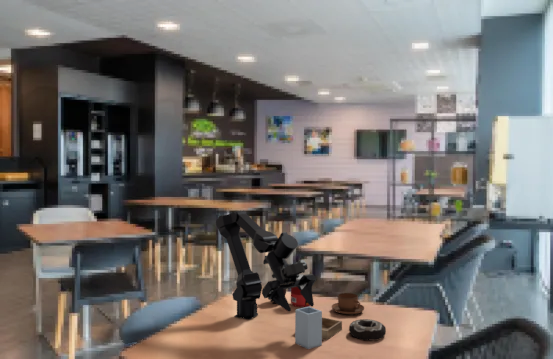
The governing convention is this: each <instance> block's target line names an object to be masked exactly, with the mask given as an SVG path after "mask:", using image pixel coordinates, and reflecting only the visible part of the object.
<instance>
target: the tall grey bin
mask: <svg viewBox="0 0 553 359" xmlns="http://www.w3.org/2000/svg"><path fill="white" fill-rule="evenodd" d="M294 317H295V318H294V319H295V322H294V323H295V325H294V326H295V327H294V329H295V332H294V339H295V340H294V343H295V344H296V345H298V346H300V347H302V348H304V349H307V350H310V349H313V348H318V347H320V346H322V344H323V342H322V341H323V339H322V317H323V311H322V310H320V309H317V308H314V307H311V306H308V307H299V308H297V309H295V316H294Z"/></svg>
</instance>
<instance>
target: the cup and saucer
mask: <svg viewBox="0 0 553 359" xmlns="http://www.w3.org/2000/svg"><path fill="white" fill-rule="evenodd" d="M331 309H332V311H334V312H335V313H338V314H341V315H357V314H360V313H362V312H364V310H365V306H364V305H362V304H361V302H360V301H359V295H357V294H355V293H351V292H350V293H349V292H341V293H339V294H338V295H337V303H336V302H335V303H333V304H332V305H331Z"/></svg>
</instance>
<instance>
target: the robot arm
mask: <svg viewBox="0 0 553 359" xmlns="http://www.w3.org/2000/svg"><path fill="white" fill-rule="evenodd" d="M215 225H216V227H217V229H218V232H219V234H220V235H221V236H222V237H223V238H224V239H226V243H227V245H228V248H229V252H230V254H231V257H232V260H233V264H234V268H235V270H236V273H237V279H236V283H235V285H236V288H235V290H234V291H233V293H232V300H233V301H236V314H235V315H234V318H238V319H244V320H252V319H253V318H255V317H257V316H258V315H259V313H258V303H257V299H258V300H259V299H260V298H261V294H262V296H263V298H264V299H268V301H270V300H272V301H274V302H275V303H276V304H277V305H278V306H280V307H282V308H283V309H284V310H286V311H287V312H288V313H290V312H291V311H292V308H291V306H290V305H291V304H289V302H288V300H287V298H286V294H285V295H284V291H283V289H286V290H288V289H291V288H293V287H298V289H299V290H301V291H300V293H301V294H302V296H303V297H304V298H305V300H306V301H307V302H308V304H309V305H310V306H309V307H312V308H314V305H315V304H314V303H315V302H314V296H313V286H314V284H315V283H316V281H317V277H316V276H315V275H314V273H308V274H303V273H306V270H308V268H309V267H308V264H307V262H306V261H305V259H302V260H299V261H297V262H296V263H288V261H287V260H286V259H289V258H290V257H291V256H292V254H293V253H294V252H295V250H296V249H297V248H298V246H299V243H298V240H297V239H296V237H294V236H293V235H290V234H289V233H288V232H287V231H285V232H281V233H280V235H279V237H278V236H277V235H276V234H275V233H273V232H271V231H268V230H265V229H263V228H262V227H261V226H260V225H259V224H258V223H257V222H256V221H255V220H254V219H253V218H251V217H250V215H248V212H247V211H245V210H235V211H233V212H231V213H229V214H224V215H223V214H222V215H219V216H218V217H217V219H216V220H215ZM241 229H242V230H243V231H244V232H245V233H246V235H248V236H249V237H250V239H252V243H253V247H254V248H255V249H256V250H257V252H258V253H260V254H265V253H267V255H264V259H263V262H262V263H263V265H268V266H269V268H270V270H271V272H272V275H271V277H272V279H275V280H268V281H267V282H266V283H265V285H264V286H263V285H262V283H263V282H262V281H261V279H260V275H259V273H258V272H254V271H253V270H252V268H251V266H250V264H249V260H248V257H247V254H246V251H245V248H244V245H243V242H242V240H241V237H240V232H241ZM301 274H302V275H303V276H302V277H301V279H300V280H297V281H296V279H297V278H298V277H299V275H301Z"/></svg>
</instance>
